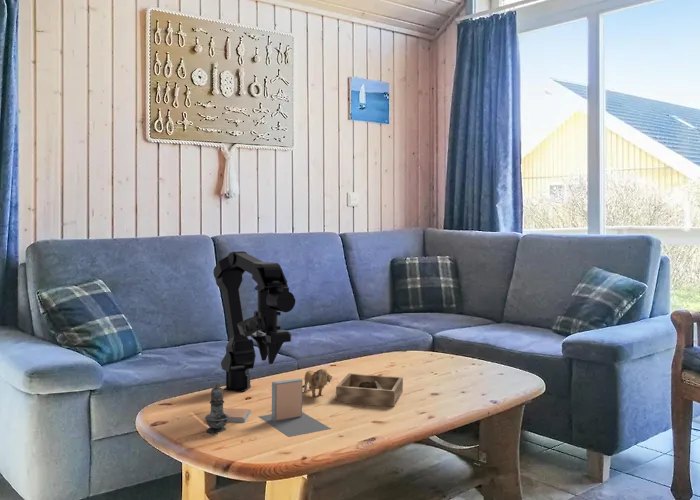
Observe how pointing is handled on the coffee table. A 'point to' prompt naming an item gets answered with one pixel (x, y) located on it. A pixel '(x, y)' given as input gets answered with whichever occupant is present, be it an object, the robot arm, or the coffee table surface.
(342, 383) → the box
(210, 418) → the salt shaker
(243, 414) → the tile
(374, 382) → the rock sample
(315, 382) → the lion figurine
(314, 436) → the coffee table surface
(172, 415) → the coffee table surface
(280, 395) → the tile
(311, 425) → the mat
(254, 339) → the robot arm
